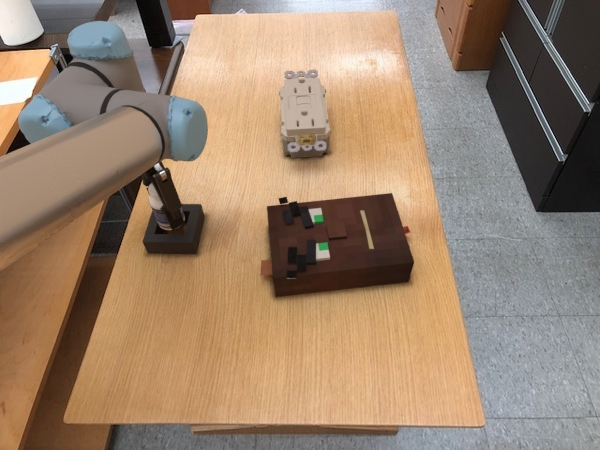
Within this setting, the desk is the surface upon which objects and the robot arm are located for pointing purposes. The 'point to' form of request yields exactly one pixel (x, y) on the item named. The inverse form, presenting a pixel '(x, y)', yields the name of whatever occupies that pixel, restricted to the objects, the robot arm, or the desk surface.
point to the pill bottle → (156, 206)
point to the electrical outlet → (304, 115)
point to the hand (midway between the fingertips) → (170, 216)
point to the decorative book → (336, 245)
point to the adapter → (176, 242)
